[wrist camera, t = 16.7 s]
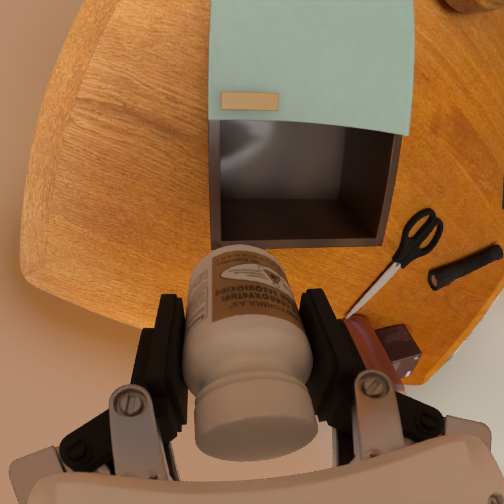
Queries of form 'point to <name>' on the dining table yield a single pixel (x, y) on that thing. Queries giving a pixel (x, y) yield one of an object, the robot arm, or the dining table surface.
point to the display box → (299, 184)
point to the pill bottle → (246, 358)
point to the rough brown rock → (475, 5)
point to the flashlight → (463, 268)
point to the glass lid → (313, 62)
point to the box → (400, 349)
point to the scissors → (406, 251)
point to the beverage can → (372, 349)
